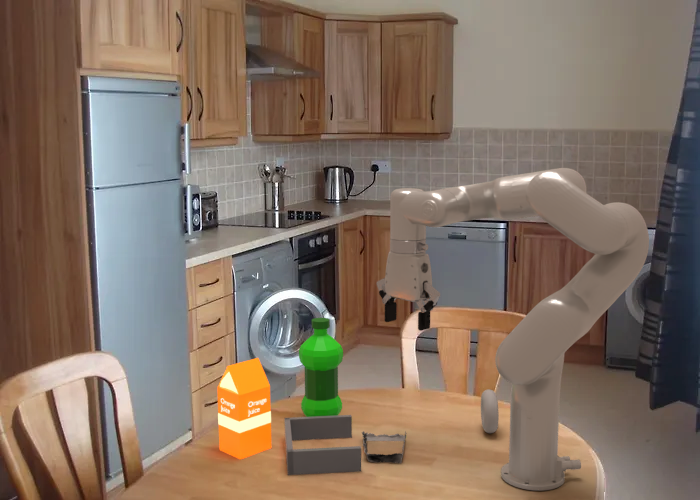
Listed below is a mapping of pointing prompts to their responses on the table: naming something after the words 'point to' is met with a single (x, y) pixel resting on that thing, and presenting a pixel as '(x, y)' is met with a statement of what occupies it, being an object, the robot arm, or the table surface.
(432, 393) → the table surface
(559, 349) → the robot arm
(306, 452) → the tray
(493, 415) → the donut
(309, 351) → the plastic bottle
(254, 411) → the orange juice
